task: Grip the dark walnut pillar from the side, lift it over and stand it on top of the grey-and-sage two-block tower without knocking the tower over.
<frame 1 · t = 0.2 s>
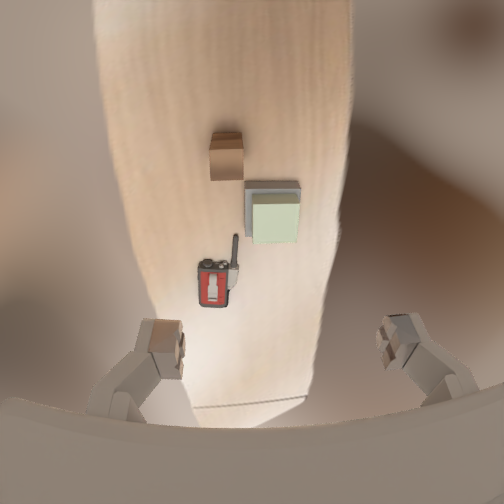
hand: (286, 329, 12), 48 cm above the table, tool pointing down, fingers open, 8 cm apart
tower base block: (270, 203, 63), on the table, touching tower top block
walnut pillar: (227, 146, 55), on the table
tower top block: (273, 213, 59), point 4 cm above the table, touching tower base block
walkie-talkie: (218, 269, 72), on the table
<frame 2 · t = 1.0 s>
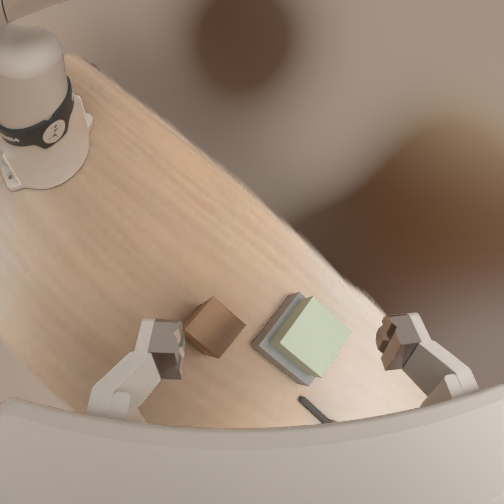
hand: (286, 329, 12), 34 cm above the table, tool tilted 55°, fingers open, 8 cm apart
tower base block: (292, 340, 49), on the table, touching tower top block
walnut pillar: (201, 329, 44), on the table
tower top block: (304, 337, 45), point 4 cm above the table, touching tower base block
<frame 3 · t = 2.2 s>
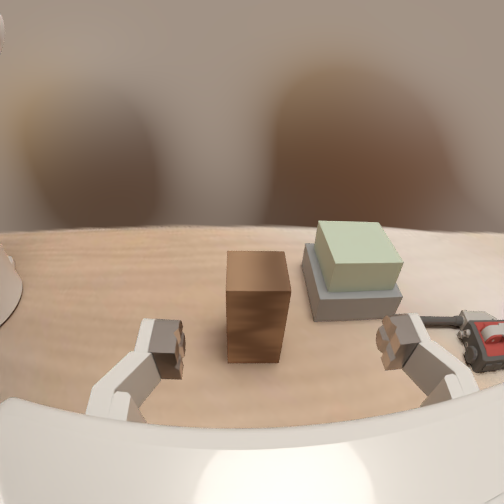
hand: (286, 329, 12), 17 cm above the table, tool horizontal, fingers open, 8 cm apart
tower base block: (345, 292, 39), on the table
walnut pillar: (252, 343, 32), on the table
tower top block: (352, 267, 37), point 4 cm above the table
walkie-talkie: (475, 347, 32), on the table
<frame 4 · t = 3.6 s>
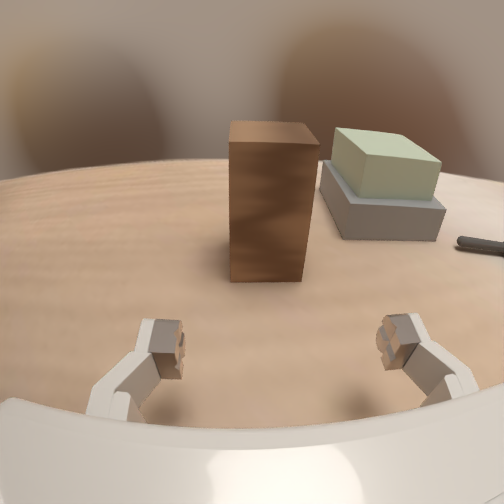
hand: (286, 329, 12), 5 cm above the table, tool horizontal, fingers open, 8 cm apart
tower base block: (374, 216, 32), on the table, touching tower top block
walnut pillar: (263, 260, 25), on the table
tower top block: (379, 180, 30), point 4 cm above the table, touching tower base block
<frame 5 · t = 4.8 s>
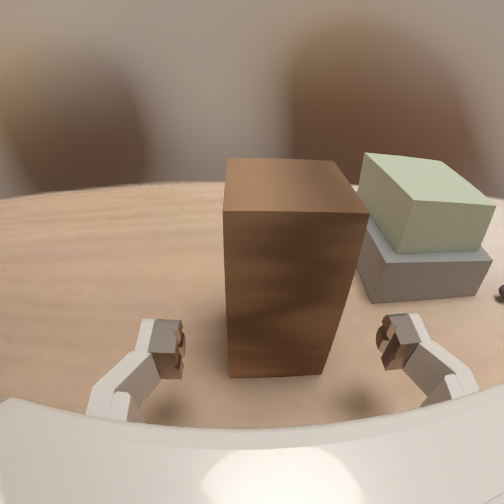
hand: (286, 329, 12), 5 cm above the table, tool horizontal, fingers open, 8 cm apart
tower base block: (404, 262, 25), on the table
walnut pillar: (272, 341, 18), on the table
tower top block: (417, 222, 23), point 4 cm above the table
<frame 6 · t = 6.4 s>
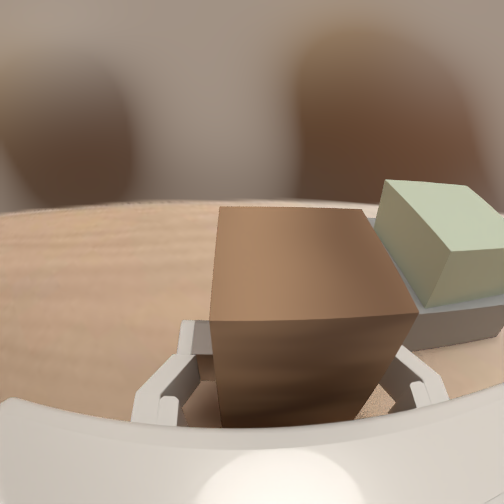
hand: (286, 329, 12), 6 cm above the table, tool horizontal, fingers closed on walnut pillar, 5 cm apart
tower base block: (422, 299, 22), on the table, touching tower top block
walnut pillar: (276, 409, 15), on the table, touching gripper
tower top block: (442, 260, 19), point 4 cm above the table, touching tower base block
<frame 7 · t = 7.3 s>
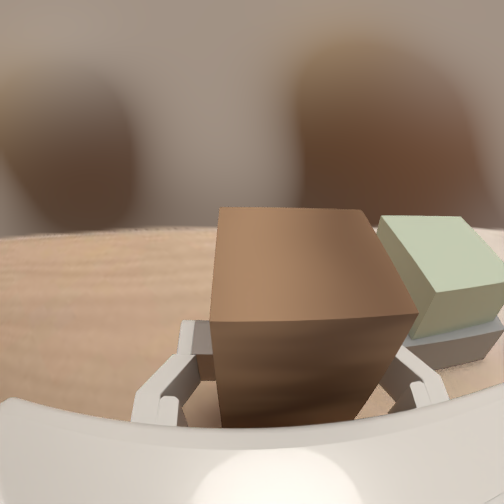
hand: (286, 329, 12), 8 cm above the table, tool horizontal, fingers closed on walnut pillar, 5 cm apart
tower base block: (414, 323, 24), on the table, touching tower top block
walnut pillar: (276, 410, 15), point 3 cm above the table, touching gripper
tower top block: (432, 290, 21), point 4 cm above the table, touching tower base block
when the fingers open (15 cm above the table, at t = 11.5 s): walnut pillar drops 2 cm, resting on tower top block.
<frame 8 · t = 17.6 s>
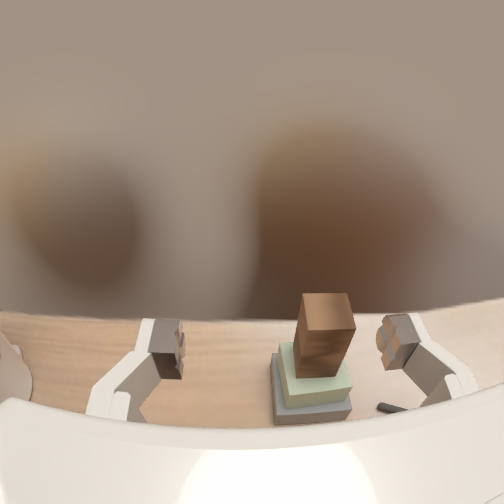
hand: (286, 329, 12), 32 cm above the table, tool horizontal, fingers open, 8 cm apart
tower base block: (306, 394, 43), on the table, touching tower top block
walnut pillar: (313, 361, 39), point 8 cm above the table, touching tower top block
tower top block: (309, 380, 41), point 3 cm above the table, touching tower base block, walnut pillar
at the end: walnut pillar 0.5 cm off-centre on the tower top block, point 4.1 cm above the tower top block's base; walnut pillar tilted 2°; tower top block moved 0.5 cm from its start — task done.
